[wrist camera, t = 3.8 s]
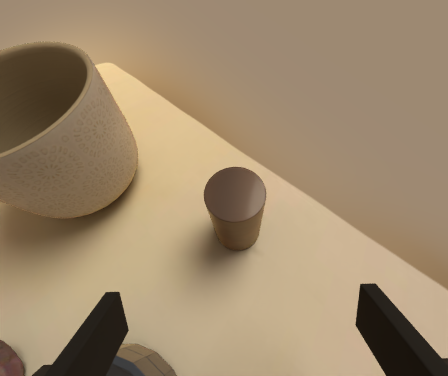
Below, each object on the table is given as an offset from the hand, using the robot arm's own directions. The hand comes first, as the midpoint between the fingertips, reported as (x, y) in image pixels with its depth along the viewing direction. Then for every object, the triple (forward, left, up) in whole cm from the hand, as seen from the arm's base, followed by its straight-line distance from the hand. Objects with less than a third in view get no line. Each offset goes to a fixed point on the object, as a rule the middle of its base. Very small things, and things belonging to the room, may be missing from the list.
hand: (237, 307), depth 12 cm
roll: (0, -9, -14) cm, 16 cm away
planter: (+21, -18, -14) cm, 31 cm away
